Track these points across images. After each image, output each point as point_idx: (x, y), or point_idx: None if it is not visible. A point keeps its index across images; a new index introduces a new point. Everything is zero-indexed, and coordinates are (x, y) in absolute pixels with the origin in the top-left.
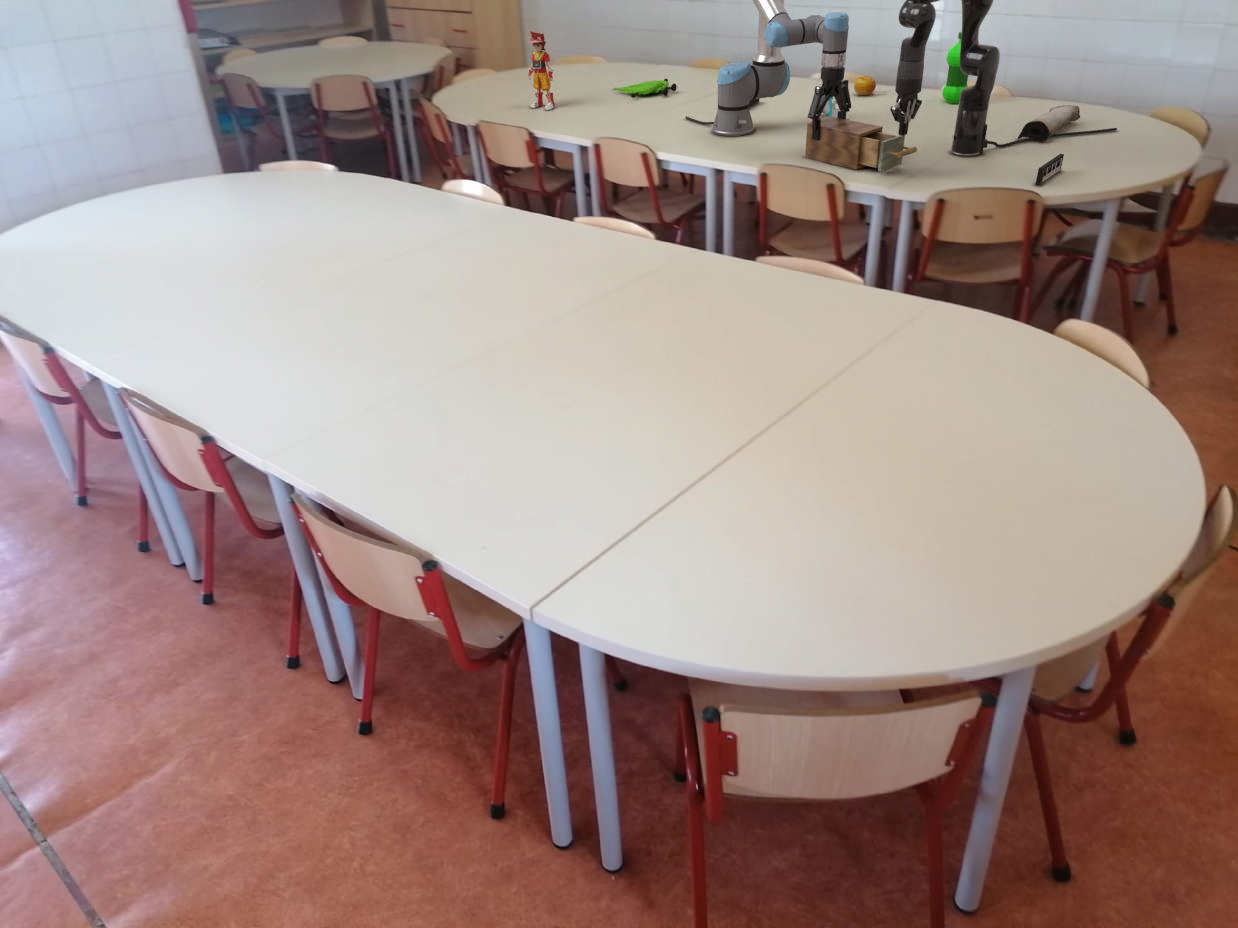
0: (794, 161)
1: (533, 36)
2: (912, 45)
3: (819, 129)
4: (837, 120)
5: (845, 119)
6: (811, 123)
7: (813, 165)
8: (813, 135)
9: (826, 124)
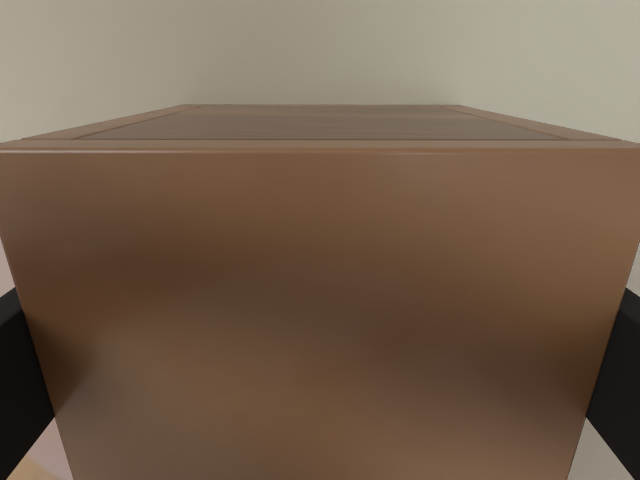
0: (48, 112)
1: None
2: None
3: None
4: (462, 408)
5: (570, 452)
6: (28, 224)
7: None
8: None
9: (175, 429)
